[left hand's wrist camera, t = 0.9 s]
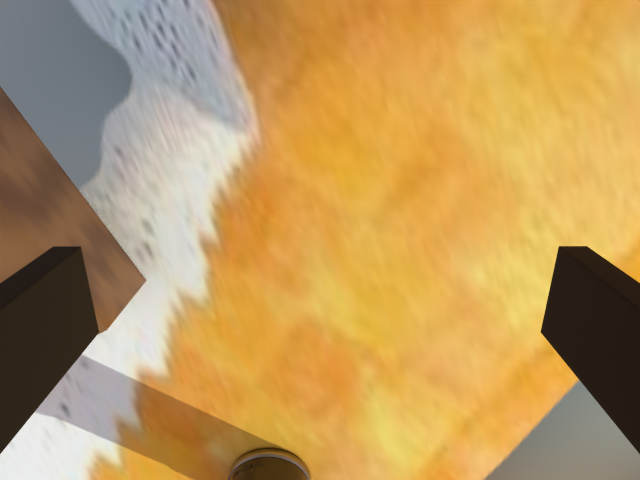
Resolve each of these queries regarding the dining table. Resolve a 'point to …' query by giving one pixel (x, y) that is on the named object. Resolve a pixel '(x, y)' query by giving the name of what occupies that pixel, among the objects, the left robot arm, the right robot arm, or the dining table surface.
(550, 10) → the dining table surface
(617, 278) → the left robot arm
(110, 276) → the beam
